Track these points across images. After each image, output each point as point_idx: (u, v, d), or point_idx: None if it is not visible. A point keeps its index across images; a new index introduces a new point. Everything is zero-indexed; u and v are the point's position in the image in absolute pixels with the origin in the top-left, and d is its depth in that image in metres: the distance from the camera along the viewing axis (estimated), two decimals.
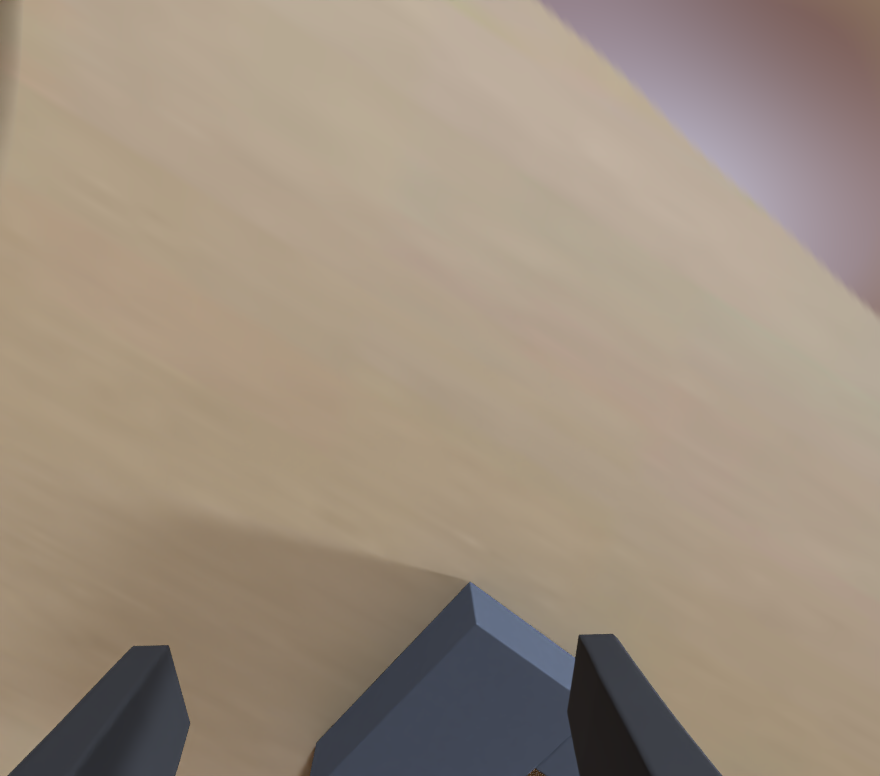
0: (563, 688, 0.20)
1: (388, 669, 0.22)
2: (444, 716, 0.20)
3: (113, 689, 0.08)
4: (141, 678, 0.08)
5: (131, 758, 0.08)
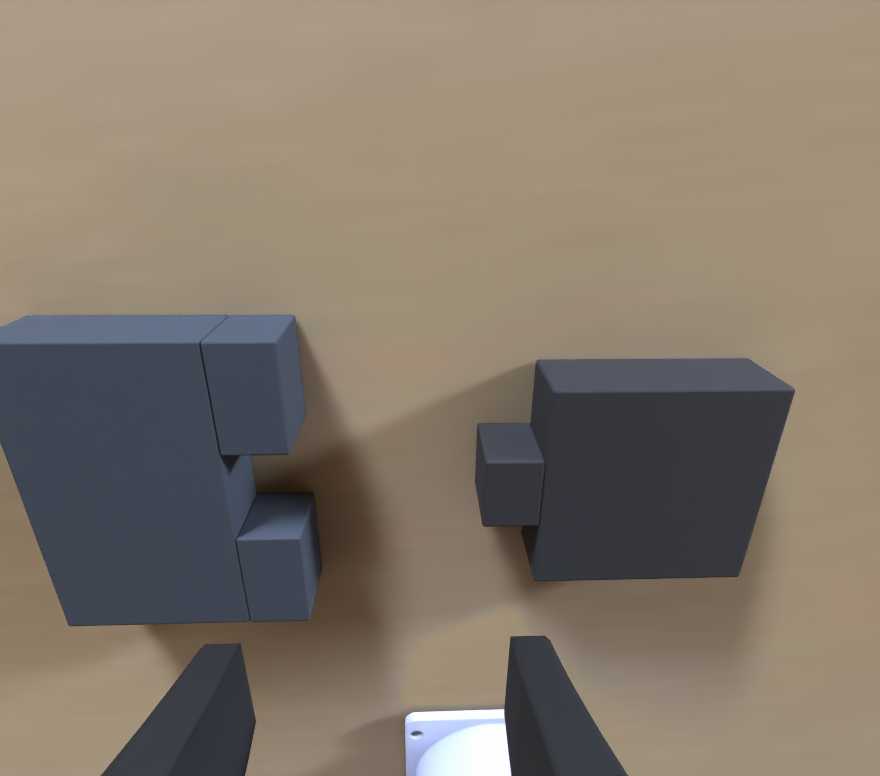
0: (134, 346, 0.14)
1: None
2: (68, 466, 0.16)
3: (194, 687, 0.08)
4: (220, 676, 0.08)
5: (213, 756, 0.08)
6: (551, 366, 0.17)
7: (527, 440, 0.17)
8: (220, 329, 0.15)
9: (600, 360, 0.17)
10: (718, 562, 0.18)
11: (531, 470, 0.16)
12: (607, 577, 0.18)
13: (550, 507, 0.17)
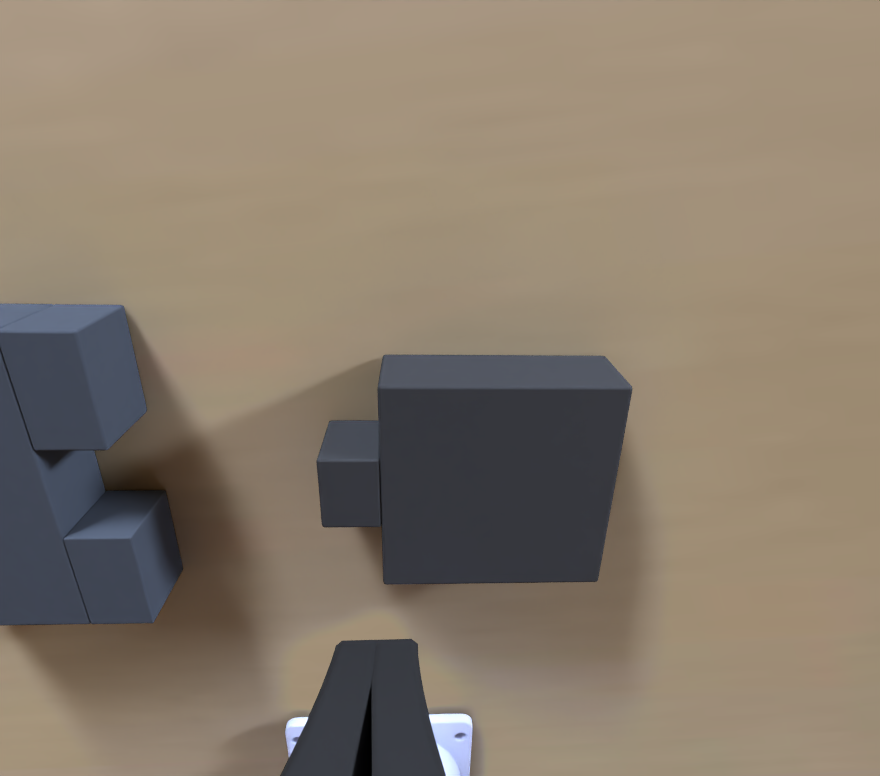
0: None
1: None
2: None
3: (348, 683, 0.08)
4: (370, 672, 0.08)
5: (369, 750, 0.08)
6: (393, 361, 0.16)
7: (371, 438, 0.17)
8: (29, 318, 0.14)
9: (448, 356, 0.17)
10: (574, 566, 0.17)
11: (365, 469, 0.16)
12: (460, 581, 0.17)
13: (391, 508, 0.16)
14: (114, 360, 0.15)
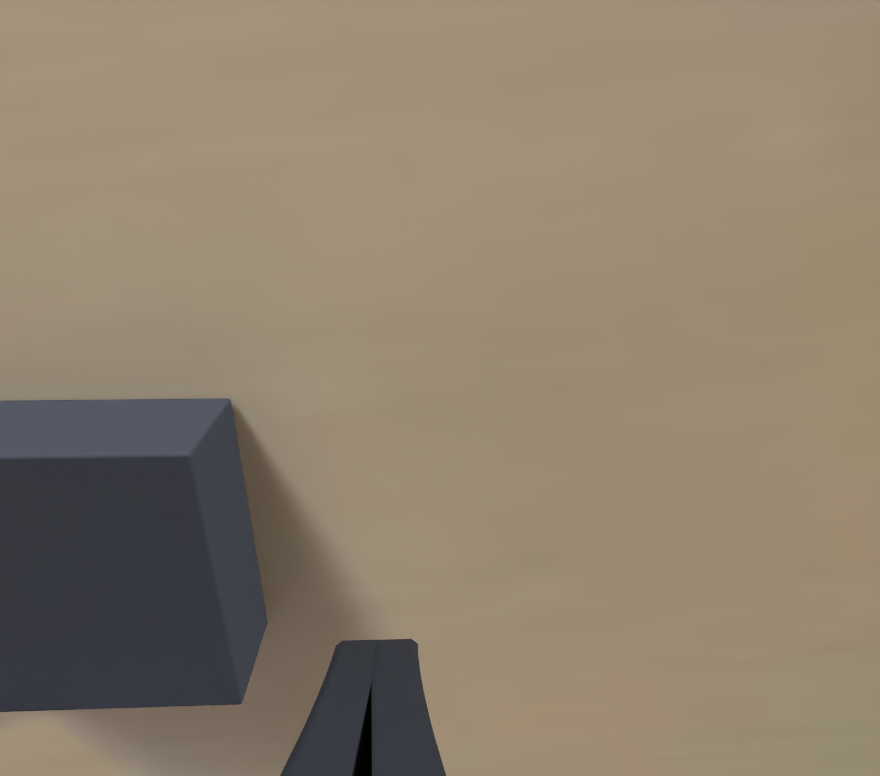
0: None
1: None
2: None
3: (348, 683, 0.08)
4: (371, 672, 0.08)
5: (369, 750, 0.08)
6: None
7: None
8: None
9: (2, 402, 0.12)
10: (199, 687, 0.13)
11: None
12: (45, 707, 0.13)
13: None
14: None
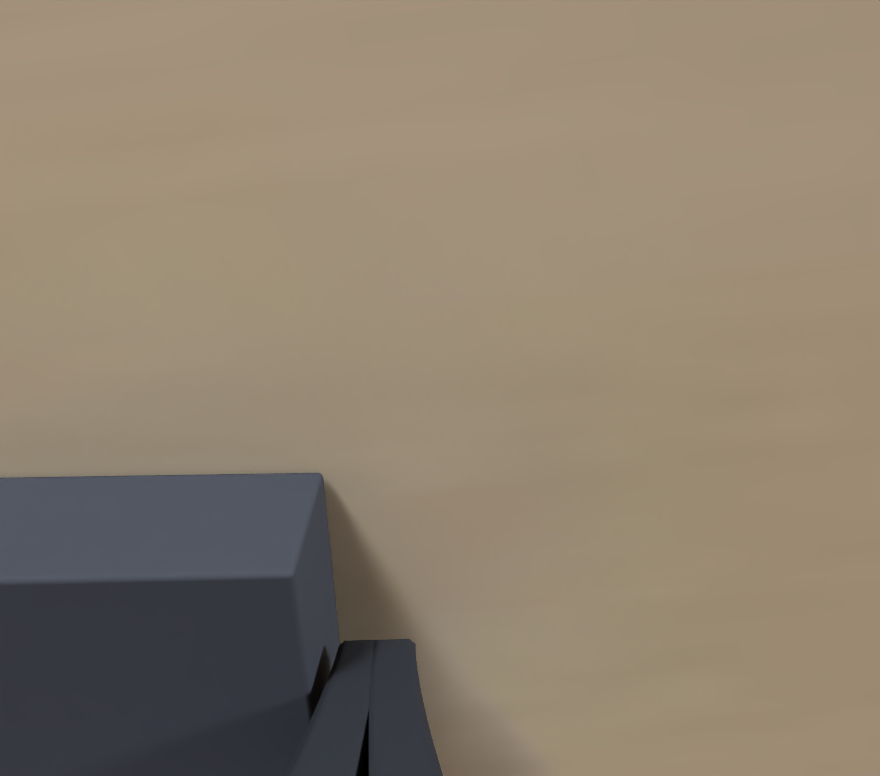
0: None
1: None
2: None
3: (351, 682, 0.08)
4: (373, 672, 0.08)
5: None
6: None
7: None
8: None
9: (25, 481, 0.09)
10: None
11: None
12: None
13: None
14: None
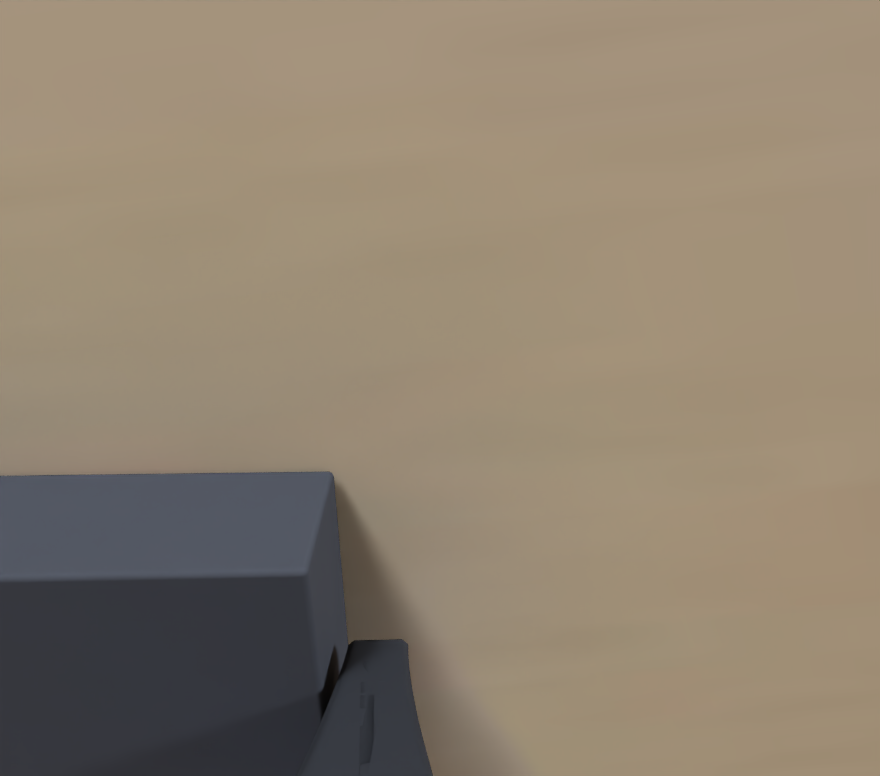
0: None
1: None
2: None
3: (361, 682, 0.08)
4: (384, 671, 0.08)
5: None
6: None
7: None
8: None
9: (36, 479, 0.09)
10: None
11: None
12: None
13: None
14: None
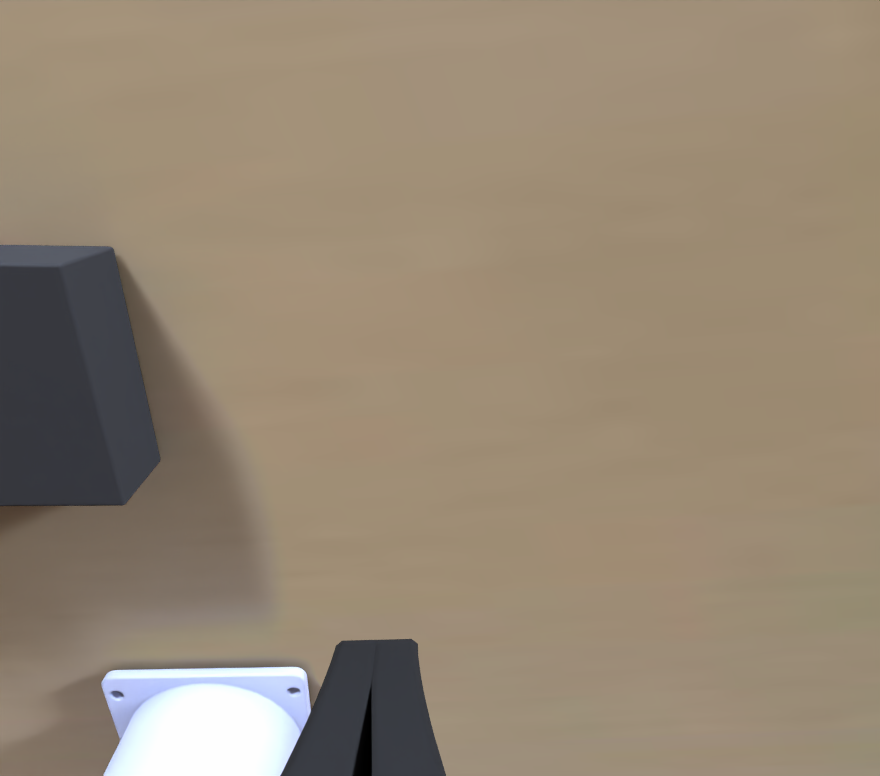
0: None
1: None
2: None
3: (348, 682, 0.08)
4: (371, 672, 0.08)
5: (369, 750, 0.08)
6: None
7: None
8: None
9: None
10: (87, 486, 0.15)
11: None
12: None
13: None
14: None
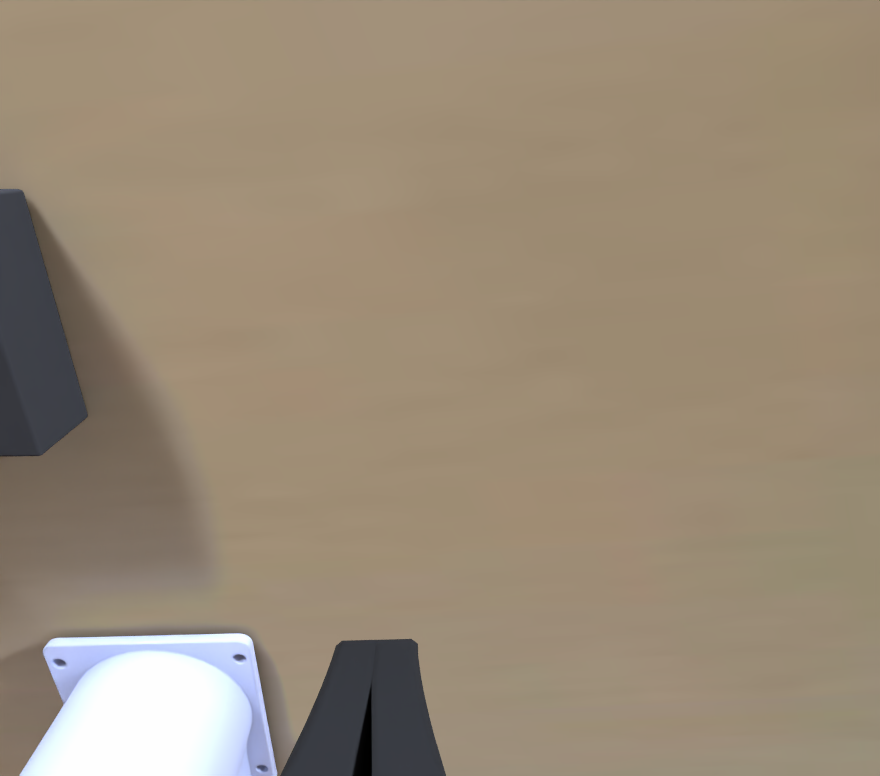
0: None
1: None
2: None
3: (348, 682, 0.08)
4: (370, 672, 0.08)
5: (369, 750, 0.08)
6: None
7: None
8: None
9: None
10: (1, 436, 0.15)
11: None
12: None
13: None
14: None
